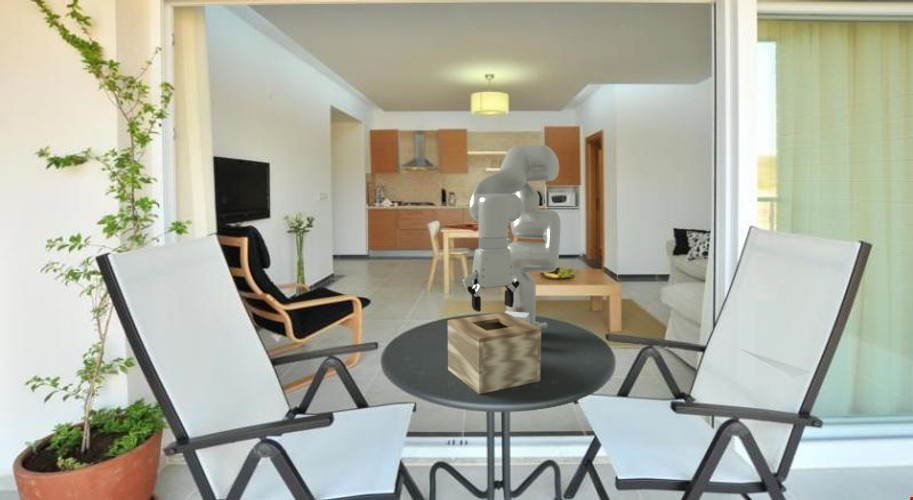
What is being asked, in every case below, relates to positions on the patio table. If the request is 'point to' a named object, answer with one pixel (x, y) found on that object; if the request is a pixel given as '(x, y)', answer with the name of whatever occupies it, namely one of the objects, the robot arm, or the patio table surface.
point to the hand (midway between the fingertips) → (492, 308)
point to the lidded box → (494, 351)
